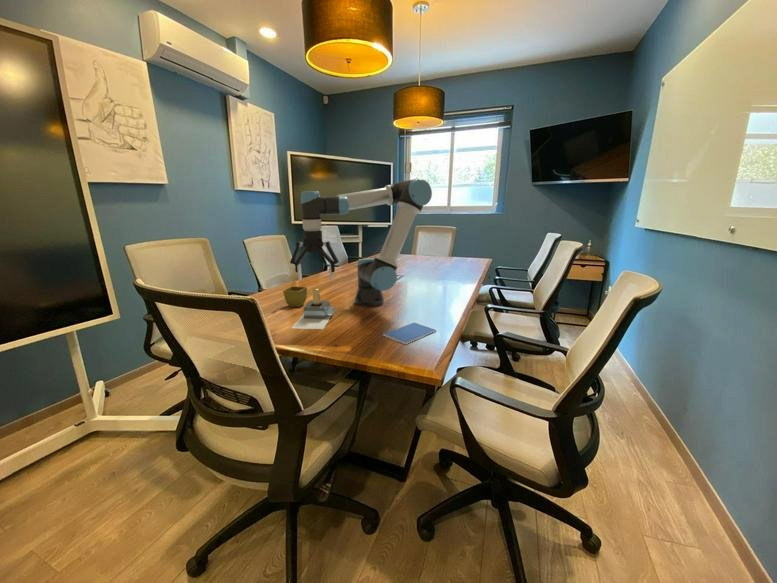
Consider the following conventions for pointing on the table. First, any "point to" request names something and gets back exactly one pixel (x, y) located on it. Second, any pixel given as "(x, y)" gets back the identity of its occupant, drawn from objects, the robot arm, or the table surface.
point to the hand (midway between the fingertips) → (315, 279)
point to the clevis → (317, 310)
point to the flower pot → (295, 296)
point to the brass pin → (316, 297)
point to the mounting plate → (311, 323)
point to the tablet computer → (408, 333)
